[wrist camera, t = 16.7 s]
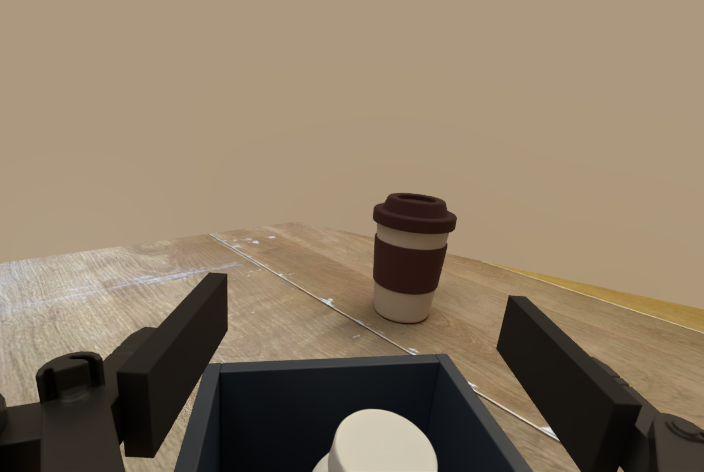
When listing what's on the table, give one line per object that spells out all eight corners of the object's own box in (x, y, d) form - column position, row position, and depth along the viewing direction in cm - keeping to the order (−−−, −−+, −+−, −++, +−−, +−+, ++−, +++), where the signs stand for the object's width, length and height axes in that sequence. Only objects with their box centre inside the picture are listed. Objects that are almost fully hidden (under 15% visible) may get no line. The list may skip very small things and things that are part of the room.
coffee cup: (454, 326, 45) (477, 207, 41) (381, 334, 41) (398, 206, 37) (415, 291, 54) (430, 191, 49) (352, 296, 50) (363, 189, 46)
